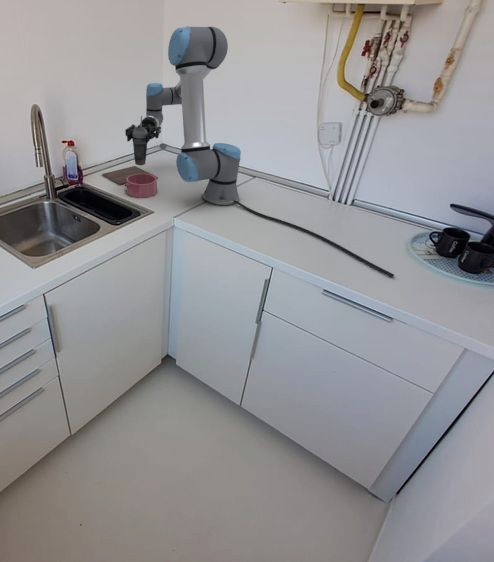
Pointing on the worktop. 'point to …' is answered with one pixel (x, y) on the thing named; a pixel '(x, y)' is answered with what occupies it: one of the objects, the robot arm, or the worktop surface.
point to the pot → (141, 185)
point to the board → (123, 174)
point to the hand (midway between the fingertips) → (137, 138)
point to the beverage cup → (139, 144)
